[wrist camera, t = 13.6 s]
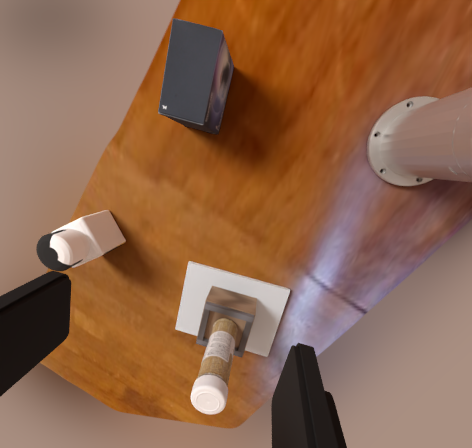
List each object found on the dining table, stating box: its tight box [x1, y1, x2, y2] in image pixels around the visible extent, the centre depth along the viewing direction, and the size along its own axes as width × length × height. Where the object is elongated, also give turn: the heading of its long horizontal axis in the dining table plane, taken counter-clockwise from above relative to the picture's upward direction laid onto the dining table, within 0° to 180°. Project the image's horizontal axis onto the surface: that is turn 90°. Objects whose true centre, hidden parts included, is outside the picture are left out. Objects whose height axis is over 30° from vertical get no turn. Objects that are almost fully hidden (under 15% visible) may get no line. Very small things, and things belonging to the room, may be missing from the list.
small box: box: [158, 18, 234, 134], centre depth 33 cm, size 11×6×10 cm, turn 165°
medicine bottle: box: [37, 210, 126, 271], centre depth 41 cm, size 7×7×12 cm
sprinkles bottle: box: [191, 318, 238, 414], centre depth 35 cm, size 5×5×14 cm
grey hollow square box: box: [196, 286, 257, 357], centre depth 44 cm, size 9×9×6 cm
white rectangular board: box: [175, 261, 290, 357], centre depth 47 cm, size 20×16×1 cm
